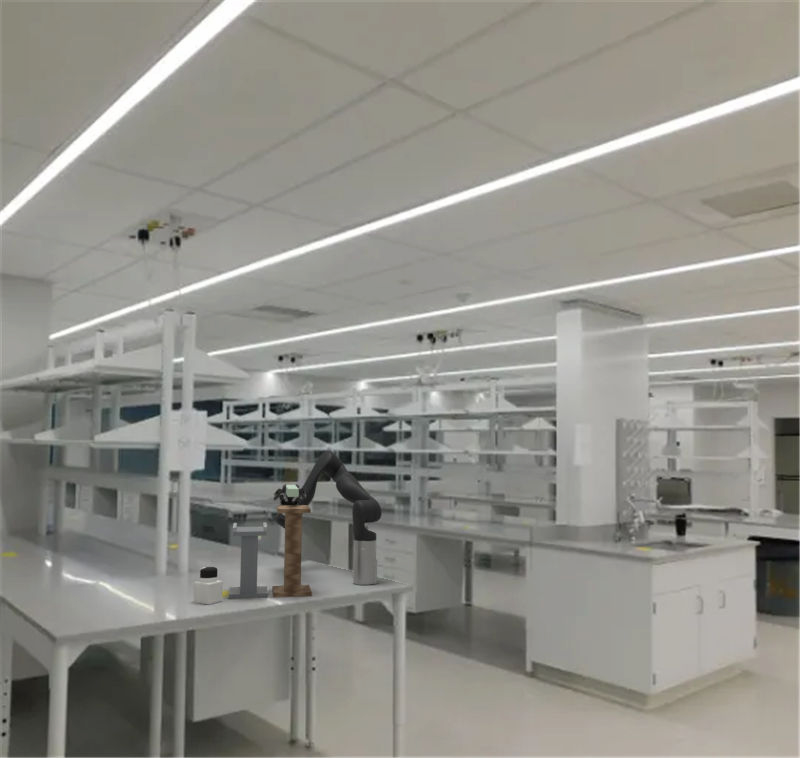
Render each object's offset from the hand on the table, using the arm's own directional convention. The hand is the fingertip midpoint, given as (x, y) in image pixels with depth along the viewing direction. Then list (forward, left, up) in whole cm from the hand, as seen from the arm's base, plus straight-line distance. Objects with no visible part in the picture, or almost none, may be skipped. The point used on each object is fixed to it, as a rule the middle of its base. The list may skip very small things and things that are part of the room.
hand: (291, 486), depth 300 cm
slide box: (0, +5, -3) cm, 5 cm away
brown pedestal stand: (0, +19, -39) cm, 43 cm away
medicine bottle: (+30, +30, -39) cm, 57 cm away
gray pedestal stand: (+16, +19, -39) cm, 46 cm away
